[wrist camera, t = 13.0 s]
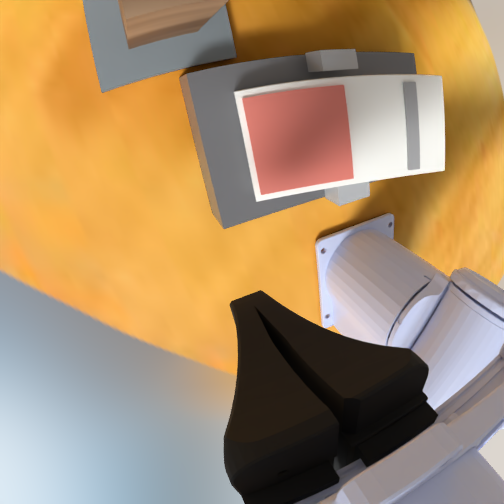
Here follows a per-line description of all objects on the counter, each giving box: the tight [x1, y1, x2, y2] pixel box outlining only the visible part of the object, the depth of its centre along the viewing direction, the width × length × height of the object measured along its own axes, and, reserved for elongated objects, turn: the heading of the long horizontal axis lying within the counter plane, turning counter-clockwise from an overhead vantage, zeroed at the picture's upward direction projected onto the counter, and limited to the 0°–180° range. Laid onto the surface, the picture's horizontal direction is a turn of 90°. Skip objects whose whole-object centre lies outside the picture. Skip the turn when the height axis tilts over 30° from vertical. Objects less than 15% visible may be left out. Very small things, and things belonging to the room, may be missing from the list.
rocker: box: [234, 74, 445, 202], centre depth 16 cm, size 6×12×1 cm, turn 100°
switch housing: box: [179, 49, 417, 229], centre depth 19 cm, size 9×16×4 cm, turn 100°
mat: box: [83, 0, 237, 93], centre depth 14 cm, size 8×8×1 cm
